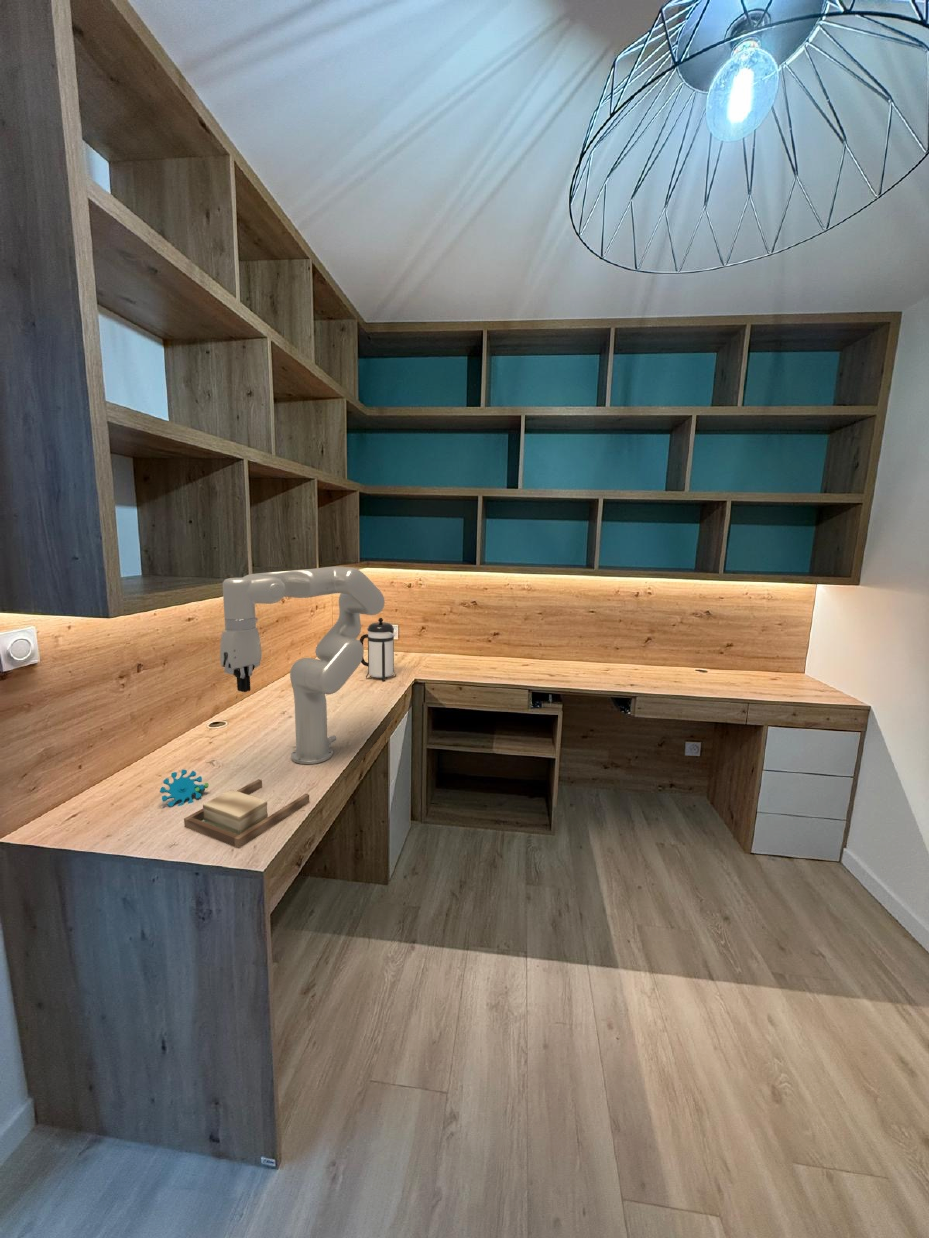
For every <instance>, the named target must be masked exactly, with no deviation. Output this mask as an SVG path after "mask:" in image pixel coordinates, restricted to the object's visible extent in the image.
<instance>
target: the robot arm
mask: <svg viewBox="0 0 929 1238" xmlns="http://www.w3.org/2000/svg"><path fill="white" fill-rule="evenodd" d="M333 594H339V597H338V608H339V609H338V610H339V612H338V613H339V615H338V618H337V621H336V622H335V623H334V625H333V626H332V627H331V629H329V630H328V632H327V633H326V634H325V635H324V636H323V637H322V638H321V640H320V641H319V642H318V643H317V644H316V647H315V655H316V657H317V658H311V657H303V658H300V659H298V660H296V661H295V662H294V663H293V664H292V666H291V669H290V673H289V675H290V676H289V678H290V684H291V687H292V692H293V699H294V715H295V716H294V724H295V728H294V729H295V747H296V748H295V749H294V750H293V751H292V752H291V755H290V756H291V758H290V759H291V761H293V762H295V763H296V764H301V765H314V764H319V763H323V762H325V761H329V759H330V758H332V756H333V753H334V751H333V748H332V747H331V746H330V745H331V744H332V743H335V742H336V741H337V740H338V738H337V735H331V736H329V737H328V717H327V716H328V714H327V713H328V711H327V708H328V707H327V705H328V704H327V698H326V695H333V694H336V693H337V692H338V691H340V690H341V688H342V687H343V686H344V685H345V684H346V682H347V681H348V680H349V679H350V677H352V676H353V674H354V672H356V670H357V669H358V667H359V666H360V665H361V664H362V663H361V661H362V658H364V655H365V654H364V653H365V648H364V644H363V645H362V643H361V642H360V639H358V637H359V636H360V634H361V631H362V622H361V615H368V616H376V615H378V614H380V613H381V612H382V611H383V609H384V607H385V603H386V602H385V601H386V600H385V597H384V595H383V593H382V592H381V590H380V589H379V588H378V586H377V585H375V583H374V582H373V581H372V580H371V579H369V577H368V576H367V575H366V574H365V573H364V572H362V571H361V570H360V569H358V568H356V567H349V566H347V567H346V566H337V565H336V566H335V565H334V566H325V567H316V568H306V569H292V570H285V571H284V570H283V571H272V572H271V571H269V572H259V573H250V574H246V575H244V576H243V577H230V578H226V579H224V580H223V581H222V596H223V597H222V598H223V600H222V601H223V613H224V614H223V615H224V627H225V629H224V630H222V633H221V638H220V649H219V650H220V651H219V653H220V655H219V660H220V666H221V667H222V668H224V671H223V672H224V674H227V675H233V676H234V677H235V678H236V687H237V691H238V692H242V693H247V692H250V691H251V677H252V675H253V672H254V670H255V669H256V668H257V667H259V666H261V661H262V645H261V639H260V638H261V637H260V633H259V629H258V627H257V624H256V623H258V621H259V620H258V618H257V617H256V604H264V605H265V604H266V605H267V604H269V605H272V604H276V603H278V602H280V601H281V600H283V598H297V599H304V598H305V599H306V598H307V599H308V598H314V597H316V598H317V597H320V596H326V595H333Z"/></svg>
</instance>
